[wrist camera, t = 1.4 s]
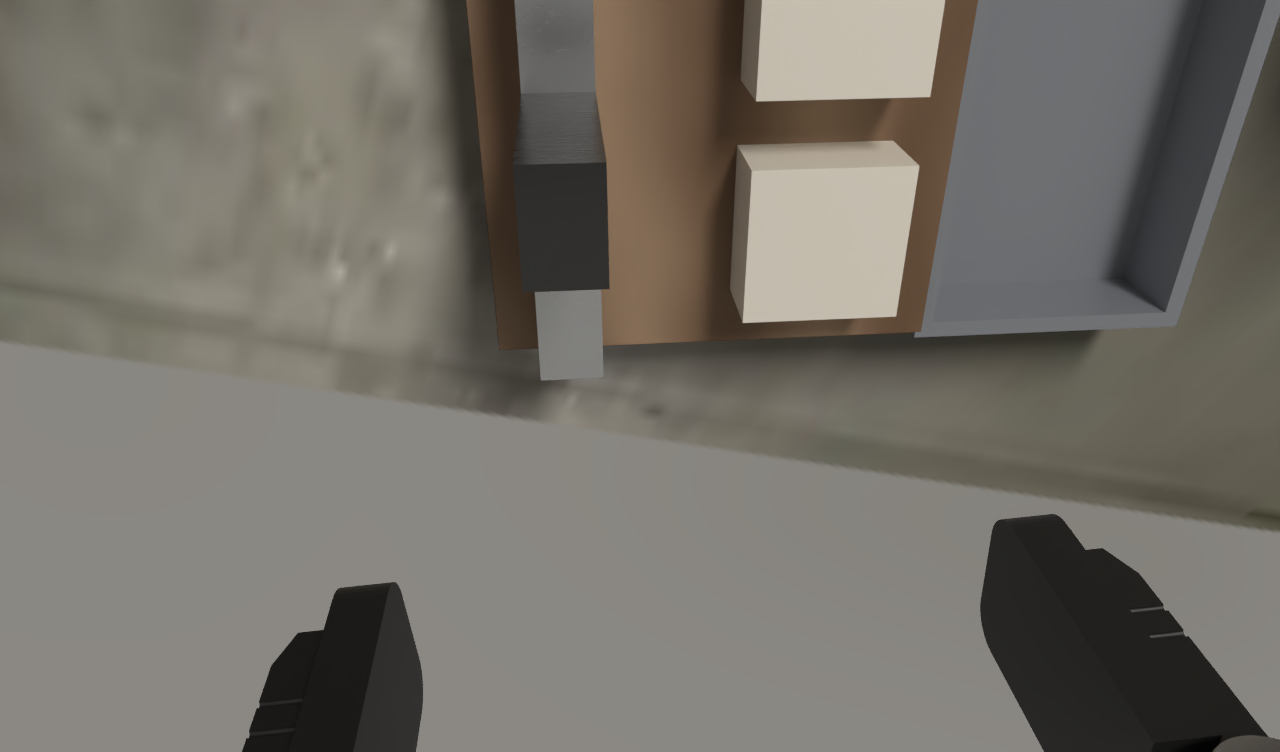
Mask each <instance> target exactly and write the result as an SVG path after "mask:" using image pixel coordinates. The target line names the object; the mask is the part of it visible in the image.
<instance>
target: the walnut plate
mask: <svg viewBox="0 0 1280 752" xmlns="http://www.w3.org/2000/svg"><path fill="white" fill-rule="evenodd" d="M466 3H467V14H468V24H469V35H470V45H471V56H472V67H473V77H474V88H475V98H476V109H477V120H478V130H479V141H480V151H481V162H482V172H483V183H484V194H485V204H486V215H487V225H488V236H489V247H490V257H491V268H492V278H493V289H494V299H495V310H496V321H497V331H498V342H499V350H512V349H535V348H539V347H538V332H537V318H536V303H535V292H524V293H523V292H522V279H521V266H520V253H519V240H518V227H517V214H516V201H515V188H514V175H513V159H514V150H515V141H516V133H517V124H518V115H519V106H520V98H521V87H520V73H519V58H518V44H517V29H516V15H515V0H466ZM744 3H745V0H593V18H594V53H595V89H596V98H597V104H598V110H599V117H600V123H601V129H602V136H603V142H604V148H605V155H606V161H607V197H608V240H609V284H610V289H602V290H601V301H602V336H603V346H605V345H628V344H652V343H675V342H699V341H722V340H745V339H769V338H792V337H815V336H839V335H862V334H885V333H909V332H921V328H922V323H923V317H924V311H925V305H926V299H927V294H928V288H929V282H930V276H931V270H932V265H933V259H934V253H935V247H936V242H937V236H938V230H939V224H940V218H941V213H942V207H943V201H944V195H945V189H946V184H947V178H948V172H949V166H950V161H951V155H952V149H953V143H954V137H955V132H956V126H957V120H958V114H959V108H960V103H961V97H962V91H963V85H964V80H965V74H966V68H967V62H968V56H969V51H970V45H971V39H972V33H973V27H974V22H975V16H976V10H977V4H978V0H945V6H944V12H943V18H942V25H941V31H940V38H939V44H938V50H937V57H936V63H935V70H934V76H933V83H932V89H931V95H930V97H914V98H874V99H835V100H796V101H755V99H754V98H753V97H752V95H751V94H750V92H749V91H748V90H747V88H746V87H745V85H744V84H743V83H742V81H741V62H742V42H743V23H744ZM860 141H894V142H895V143H896V144H897V145H898V146H899V147H900V148H901V149H902V150H903V151H905V152H906V153H907V154H908V155H909V156H910V157H911V158H912V159H913V160H914V161H915V162H916V163H917V164H918V165H919V173H918V179H917V185H916V192H915V198H914V205H913V211H912V218H911V224H910V230H909V237H908V243H907V250H906V256H905V263H904V269H903V275H902V282H901V288H900V295H899V301H898V307H897V314H896V317H875V318H851V319H827V320H803V321H779V322H755V323H743V322H742V320H741V317H740V314H739V312H738V309H737V306H736V304H735V301H734V298H733V296H732V293H731V290H730V278H731V259H732V239H733V219H734V200H735V180H736V160H737V145H755V144H790V143H825V142H860Z"/></svg>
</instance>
